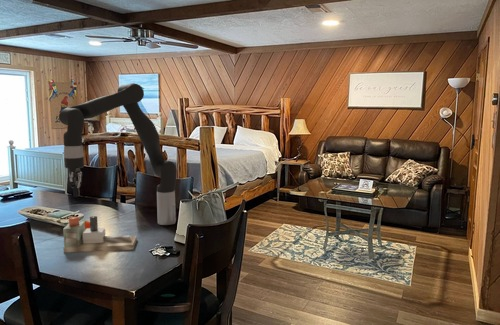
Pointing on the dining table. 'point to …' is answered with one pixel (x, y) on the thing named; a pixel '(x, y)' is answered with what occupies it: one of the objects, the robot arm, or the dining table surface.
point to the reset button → (74, 221)
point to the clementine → (87, 224)
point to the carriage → (93, 232)
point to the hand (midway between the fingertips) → (76, 196)
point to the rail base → (76, 244)
